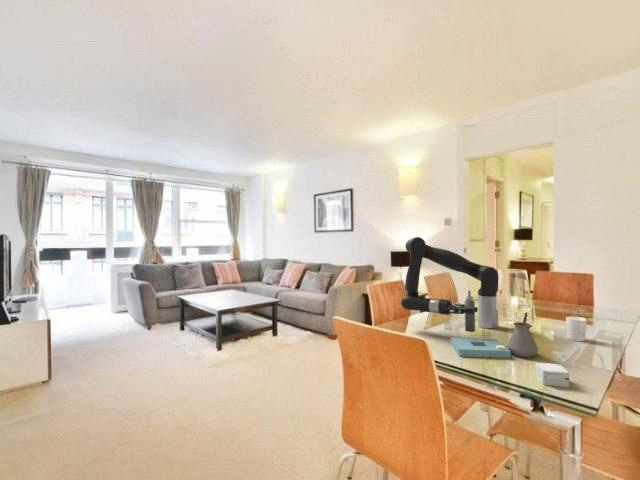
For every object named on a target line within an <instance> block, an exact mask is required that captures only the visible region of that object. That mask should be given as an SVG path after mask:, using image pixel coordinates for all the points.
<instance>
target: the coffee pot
mask: <svg viewBox="0 0 640 480" xmlns="http://www.w3.org/2000/svg"><path fill="white" fill-rule="evenodd" d="M528 315H529V313H528V312H524V313H523V320H522V322H519V321H517V322H513V325H514V330H513V332H512V334H511V336H510V338H509V340H508V342H507V345H506V348H507V349H509V350H510V351H511V353H512V355H514V356H516V357H521V358H532V357H534V356H535V355H537V353H538V352H539V348H538V346H537V343H536V341H535V339H534V337H533V335H532V332H531V331H530V329H531V328H532V324H530V323H527V318H528Z"/></svg>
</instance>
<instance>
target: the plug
mask: <svg viewBox="0 0 640 480" xmlns="http://www.w3.org/2000/svg"><path fill="white" fill-rule="evenodd" d="M465 298H466V299H465V300H466V301H464V304H465V308H468V309H474V310H475V307H476V306H475V303H476V302H475V301H474V297H473V296H471V290H468V291H467V296H465ZM464 327H465V329H464V331H466V332H468V333H469V332H470V333H474V332H476V312H475V313H474V314H469V313H465V314H464Z"/></svg>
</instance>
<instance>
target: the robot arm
mask: <svg viewBox="0 0 640 480" xmlns="http://www.w3.org/2000/svg"><path fill="white" fill-rule="evenodd" d="M405 249H406V251H407V252H408V253H409V254H410V258H409V259H410V260H409V266H408V268H407V272H406V275H405V283H404V284H405V285H404V290H405V291H406V296H404V297H402V299H401V300H400V304H401V307H402V308H403V309H404V310H407V311H408V310H409V311H422V312H427V313H432V314H437V315H443V316H449V315H451V314H454V315H465V313H469V314H474V313H475V314H476V313H477V319H478V320H477V321H478V322H477V326H478V327H480V328H482V329H483V328H484V329H499V310H498V307H497V302H498V301H497V299H498V298H497V293H498V292H499V291H498V290H499V273H498V270H497V269H496V268H494V267H493V266H488V265H483V264H480V263H479V264H478V263H475V262H472V261H470V260H468V259H467V258H465V257H464V256H462V255H460V254H458V253H456V252H453V251H450V250H449V249H448V250H447V249H443V248H439V247H433V246H431V245H428V244H426V241H425V240H424V238H422V237H420V236H415V237H412V238H410V239H408V240H407V241H406V243H405ZM423 258H424V259H426V260H429V261H432V262H433V263H435V264H437V265H440V266H442V267H445V269H446V268H447V269H449V270H452V271H455V272H459V273H463V274H466V275H468V276H470V277H472V278H474V279H476V280H478V281H479V282H480V288H479V289H478V290H477V306H475V310H474V309H468V308H465V303H461V302H460V303H459V302H458V303H453V304H452V301H451V300H450V299H443V298H429V297H428V298H426V297H423V298H421V297H419V296H420V295H419V283H420V274H421V268H422V264H423V263H422V261H423Z"/></svg>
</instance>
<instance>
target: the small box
mask: <svg viewBox="0 0 640 480" xmlns="http://www.w3.org/2000/svg"><path fill="white" fill-rule="evenodd" d="M535 377H536V378H537V379H538V380H539V382H540V383H541V384H542V385H543V384H544V386H556V387H562V388H563V387H565V388H569V387H570V373H569V371H568V370H567V369H565V367H563V366H562V365H561V364H560V363H559V364H558V363H549V362H548V363H547V362H535Z"/></svg>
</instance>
